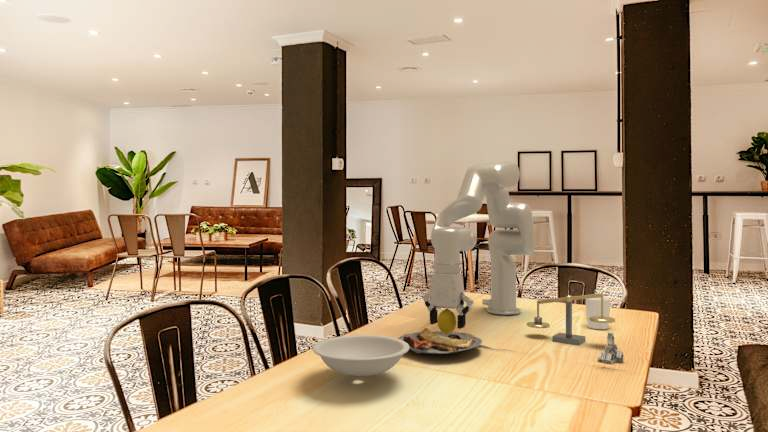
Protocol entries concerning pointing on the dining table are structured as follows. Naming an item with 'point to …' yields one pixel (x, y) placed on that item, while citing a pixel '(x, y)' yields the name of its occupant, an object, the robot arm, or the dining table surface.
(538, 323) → the balance
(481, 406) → the dining table surface
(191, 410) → the dining table surface
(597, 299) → the white cup
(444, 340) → the food plate
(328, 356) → the soup bowl
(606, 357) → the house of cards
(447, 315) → the lemon
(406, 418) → the dining table surface
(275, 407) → the dining table surface
